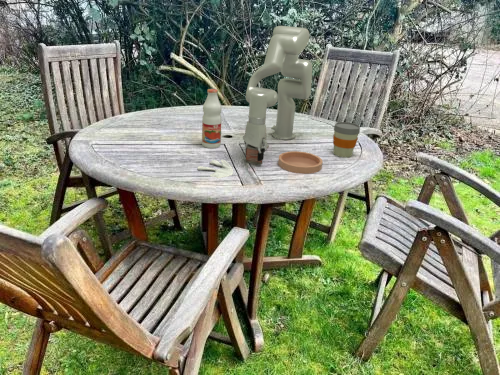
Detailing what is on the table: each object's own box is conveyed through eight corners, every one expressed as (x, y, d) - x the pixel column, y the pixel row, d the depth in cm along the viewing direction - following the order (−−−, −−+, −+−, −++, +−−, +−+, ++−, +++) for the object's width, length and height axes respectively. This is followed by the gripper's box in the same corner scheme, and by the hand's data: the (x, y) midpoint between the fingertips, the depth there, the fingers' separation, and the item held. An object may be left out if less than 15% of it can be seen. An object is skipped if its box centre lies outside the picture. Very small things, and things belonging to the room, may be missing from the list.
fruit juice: (217, 141, 210) (218, 87, 198) (223, 147, 203) (225, 91, 191) (199, 143, 207) (200, 87, 195) (205, 149, 199) (206, 92, 187)
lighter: (263, 162, 188) (265, 142, 184) (261, 165, 185) (262, 144, 181) (246, 159, 190) (248, 139, 186) (244, 162, 187) (245, 141, 183)
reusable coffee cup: (357, 153, 208) (362, 124, 202) (352, 160, 198) (357, 131, 192) (333, 148, 213) (337, 120, 206) (327, 155, 202) (331, 126, 196)
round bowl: (269, 162, 188) (269, 156, 187) (298, 154, 201) (299, 148, 200) (301, 177, 175) (302, 170, 174) (330, 167, 188) (331, 161, 186)
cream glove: (220, 183, 166) (221, 177, 165) (180, 169, 176) (180, 164, 175) (247, 168, 182) (248, 163, 181) (208, 156, 192) (208, 151, 191)
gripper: (237, 116, 182) (235, 153, 190) (264, 126, 171) (261, 165, 178) (250, 114, 187) (247, 150, 194) (276, 124, 175) (273, 162, 183)
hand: (254, 157), depth 186 cm, fingers closed on lighter, 7 cm apart
